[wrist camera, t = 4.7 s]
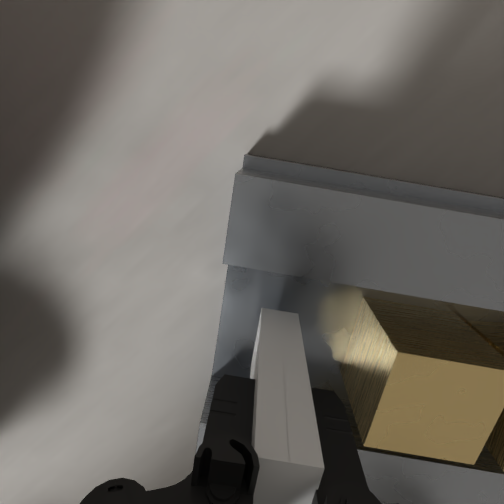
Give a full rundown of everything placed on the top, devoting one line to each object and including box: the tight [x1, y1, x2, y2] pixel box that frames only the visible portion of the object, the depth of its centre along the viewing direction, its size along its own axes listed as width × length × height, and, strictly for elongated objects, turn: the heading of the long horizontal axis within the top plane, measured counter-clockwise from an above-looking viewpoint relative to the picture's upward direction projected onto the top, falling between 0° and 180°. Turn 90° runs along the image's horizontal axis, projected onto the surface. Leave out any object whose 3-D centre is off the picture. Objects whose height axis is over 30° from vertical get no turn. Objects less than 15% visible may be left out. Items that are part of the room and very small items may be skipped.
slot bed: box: [196, 154, 504, 504], centre depth 14 cm, size 14×20×4 cm
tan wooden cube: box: [340, 297, 504, 465], centre depth 13 cm, size 4×4×4 cm
